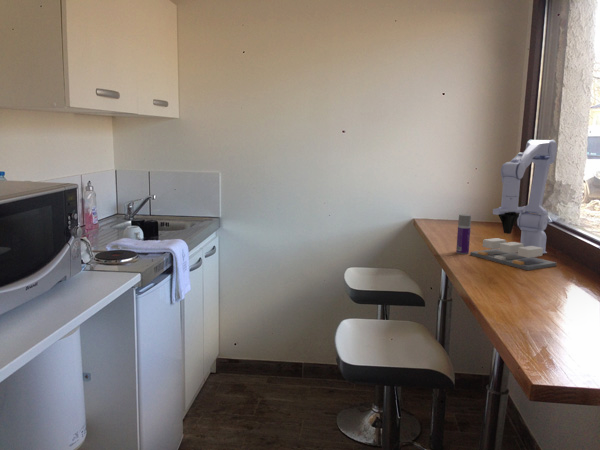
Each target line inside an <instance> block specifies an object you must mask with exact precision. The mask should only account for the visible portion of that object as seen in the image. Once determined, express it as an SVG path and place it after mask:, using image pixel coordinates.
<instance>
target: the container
mask: <svg viewBox="0 0 600 450" xmlns="http://www.w3.org/2000/svg"><path fill="white" fill-rule="evenodd" d="M471 224H472V215H471V214H468V213H467V214H466V213H459V214H458V223H457V233H456V234H457V235H456V236H457V237H456V250H455V251H456V254H459V255H469V254H470V241H471V239H470V238H471V227H472V225H471Z"/></svg>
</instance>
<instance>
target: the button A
mask: <svg viewBox="0 0 600 450" xmlns="http://www.w3.org/2000/svg"><path fill="white" fill-rule="evenodd" d="M482 240H483V241H482V248H486V249H489V250H490V249H500V243H507V239H502V238H499V237H495V238H494V237H493V238H485V239H482Z"/></svg>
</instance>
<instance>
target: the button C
mask: <svg viewBox="0 0 600 450" xmlns="http://www.w3.org/2000/svg"><path fill="white" fill-rule="evenodd" d="M517 253H518V255H519V256H523V257H527V258H531V257H535V258H538V257H543V254H544V253H543V248H540V247H536V246H527V247H519V248H518V252H517Z"/></svg>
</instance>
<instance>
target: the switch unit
mask: <svg viewBox="0 0 600 450" xmlns="http://www.w3.org/2000/svg"><path fill="white" fill-rule="evenodd" d="M469 254H470V256H472V257H477V258H479V259H483V260H487V261H491V262H494V263H499V264H503V265H506V266H510V267H514V268H518V269H521V270H525V271H533V270H539V269H546V268H551V267H552V268H553V267H557V263H558V262H557V261H556V262H555V261H552V260H547V259H543V258H538V257H531V258H527V257H523V256H519V255H518V252H515V253H506V252H502V251H500V248H495V249H490V248H489V249H484V250H483V249H482V250H476V251H475V250H473V251H469Z"/></svg>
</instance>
